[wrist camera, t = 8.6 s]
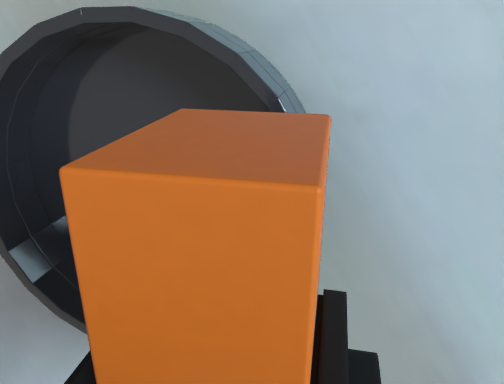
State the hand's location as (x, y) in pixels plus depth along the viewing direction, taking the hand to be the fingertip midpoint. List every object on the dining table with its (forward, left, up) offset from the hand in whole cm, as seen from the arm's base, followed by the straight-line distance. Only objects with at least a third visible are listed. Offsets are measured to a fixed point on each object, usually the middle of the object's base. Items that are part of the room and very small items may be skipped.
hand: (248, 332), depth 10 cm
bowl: (+9, +2, -16) cm, 18 cm away
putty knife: (0, +2, 0) cm, 3 cm away
